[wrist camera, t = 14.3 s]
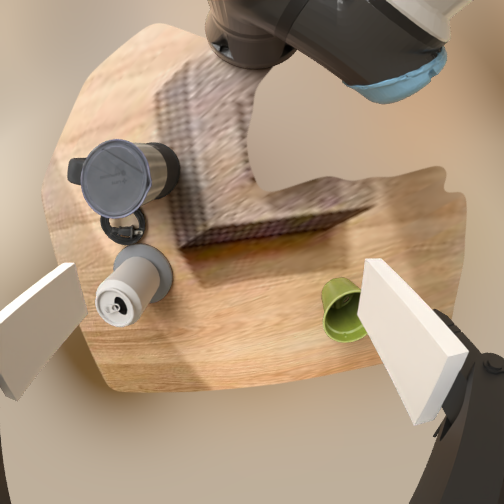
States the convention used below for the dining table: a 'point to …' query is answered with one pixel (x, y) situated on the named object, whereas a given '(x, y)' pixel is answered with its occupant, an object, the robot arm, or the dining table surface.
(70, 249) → the dining table surface
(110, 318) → the can
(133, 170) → the milk frother
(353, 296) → the plant pot
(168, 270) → the coaster
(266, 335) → the dining table surface
